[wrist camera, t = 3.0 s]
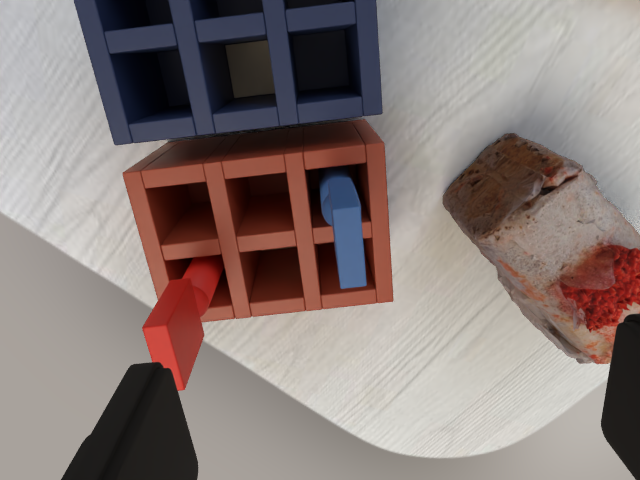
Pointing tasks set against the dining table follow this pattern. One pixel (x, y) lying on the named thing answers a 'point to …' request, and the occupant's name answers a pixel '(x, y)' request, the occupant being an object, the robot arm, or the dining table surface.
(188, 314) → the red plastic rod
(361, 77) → the blue caddy
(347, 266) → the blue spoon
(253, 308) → the red caddy
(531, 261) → the food item
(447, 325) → the dining table surface
